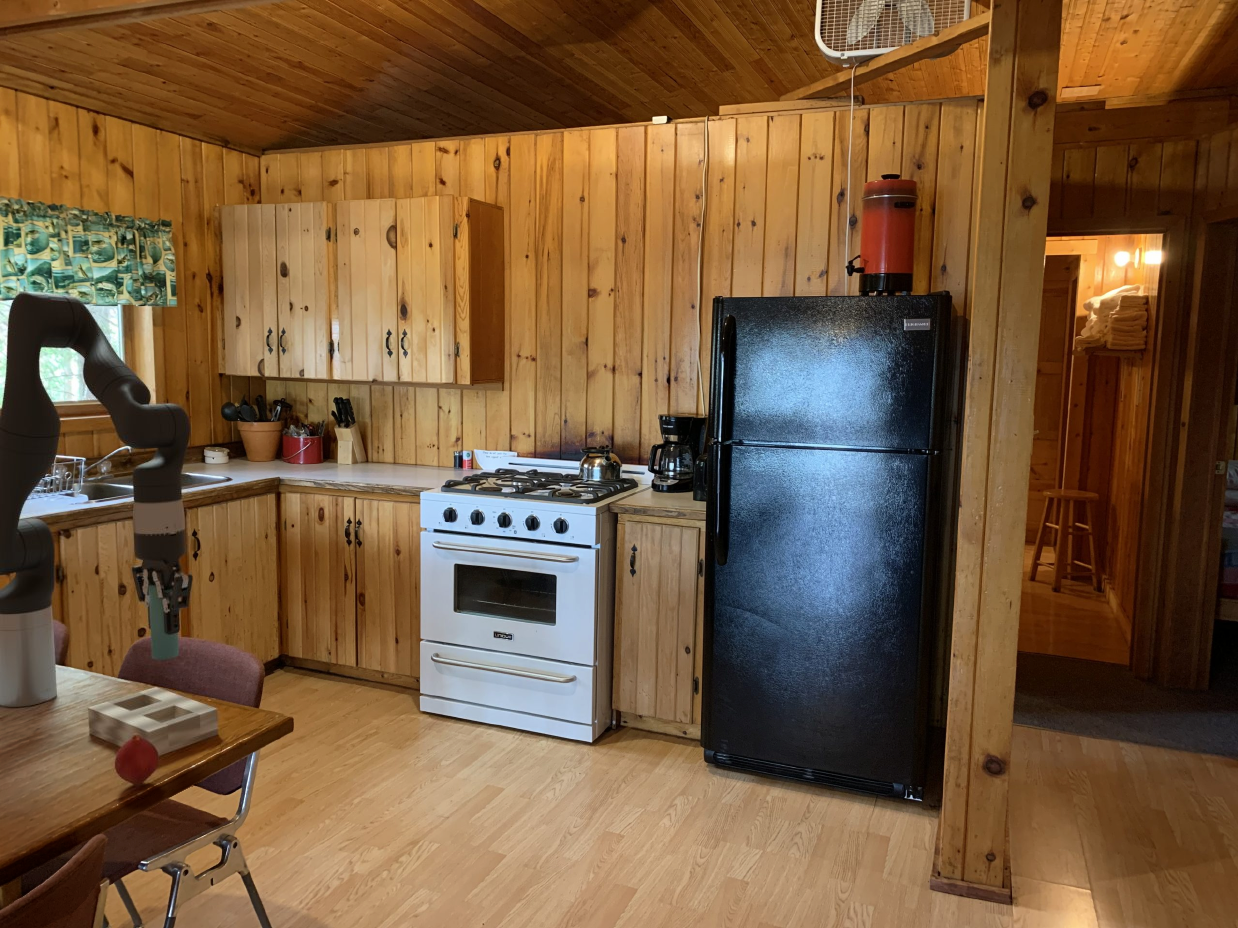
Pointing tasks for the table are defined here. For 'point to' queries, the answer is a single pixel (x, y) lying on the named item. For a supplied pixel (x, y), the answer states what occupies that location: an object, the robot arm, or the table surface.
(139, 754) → the onion
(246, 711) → the table surface
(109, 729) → the hole board
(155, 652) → the pin
